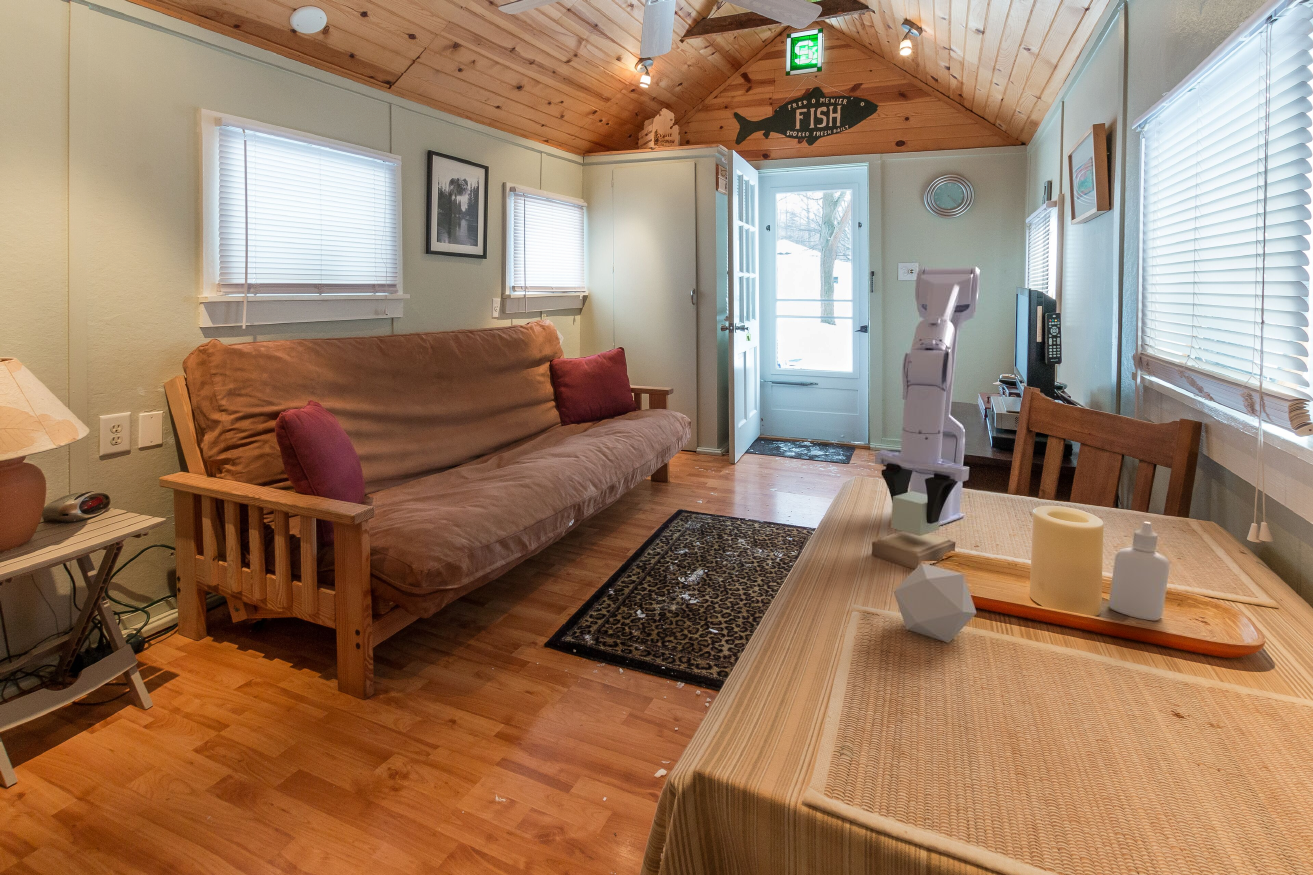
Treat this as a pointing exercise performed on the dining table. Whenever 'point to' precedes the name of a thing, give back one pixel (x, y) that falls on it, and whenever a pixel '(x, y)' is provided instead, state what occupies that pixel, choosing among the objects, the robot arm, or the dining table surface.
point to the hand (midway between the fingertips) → (915, 517)
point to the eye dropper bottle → (1140, 578)
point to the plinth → (911, 548)
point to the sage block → (912, 514)
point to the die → (935, 602)
